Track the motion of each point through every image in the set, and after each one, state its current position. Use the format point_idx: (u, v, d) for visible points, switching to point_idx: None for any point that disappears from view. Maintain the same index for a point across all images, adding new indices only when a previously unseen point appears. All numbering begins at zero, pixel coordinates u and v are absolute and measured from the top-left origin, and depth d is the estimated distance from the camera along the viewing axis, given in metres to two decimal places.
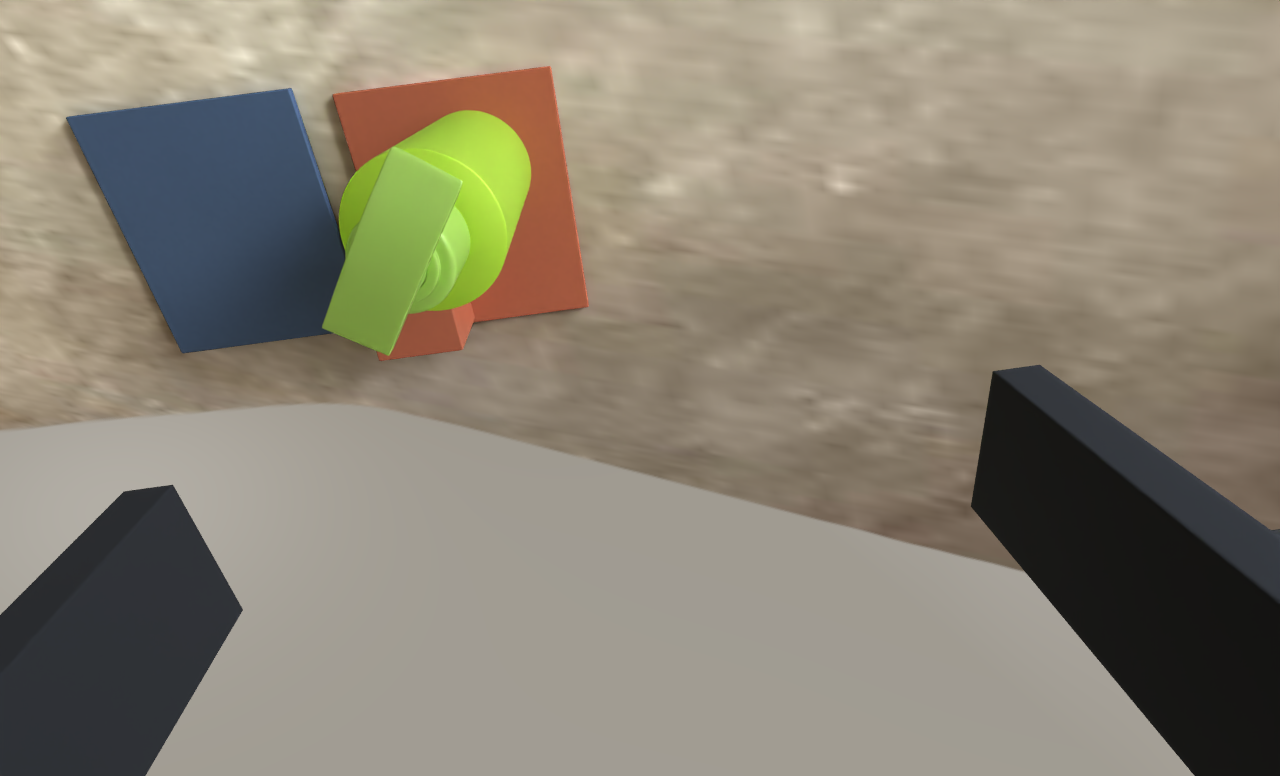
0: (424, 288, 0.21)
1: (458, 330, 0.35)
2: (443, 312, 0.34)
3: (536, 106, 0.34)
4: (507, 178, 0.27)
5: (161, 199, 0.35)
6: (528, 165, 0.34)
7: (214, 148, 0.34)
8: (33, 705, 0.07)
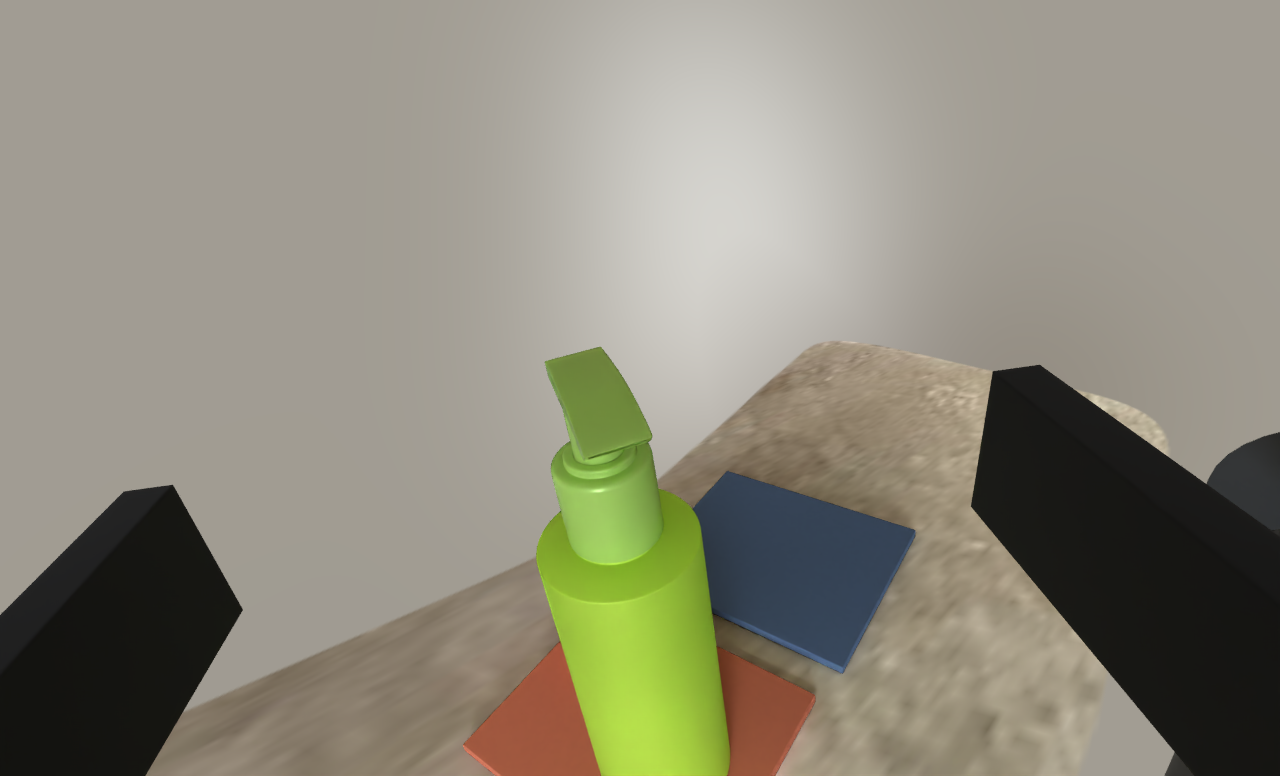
0: (569, 452, 0.21)
1: None
2: None
3: None
4: (605, 680, 0.23)
5: (827, 534, 0.40)
6: None
7: (836, 587, 0.36)
8: (33, 705, 0.07)
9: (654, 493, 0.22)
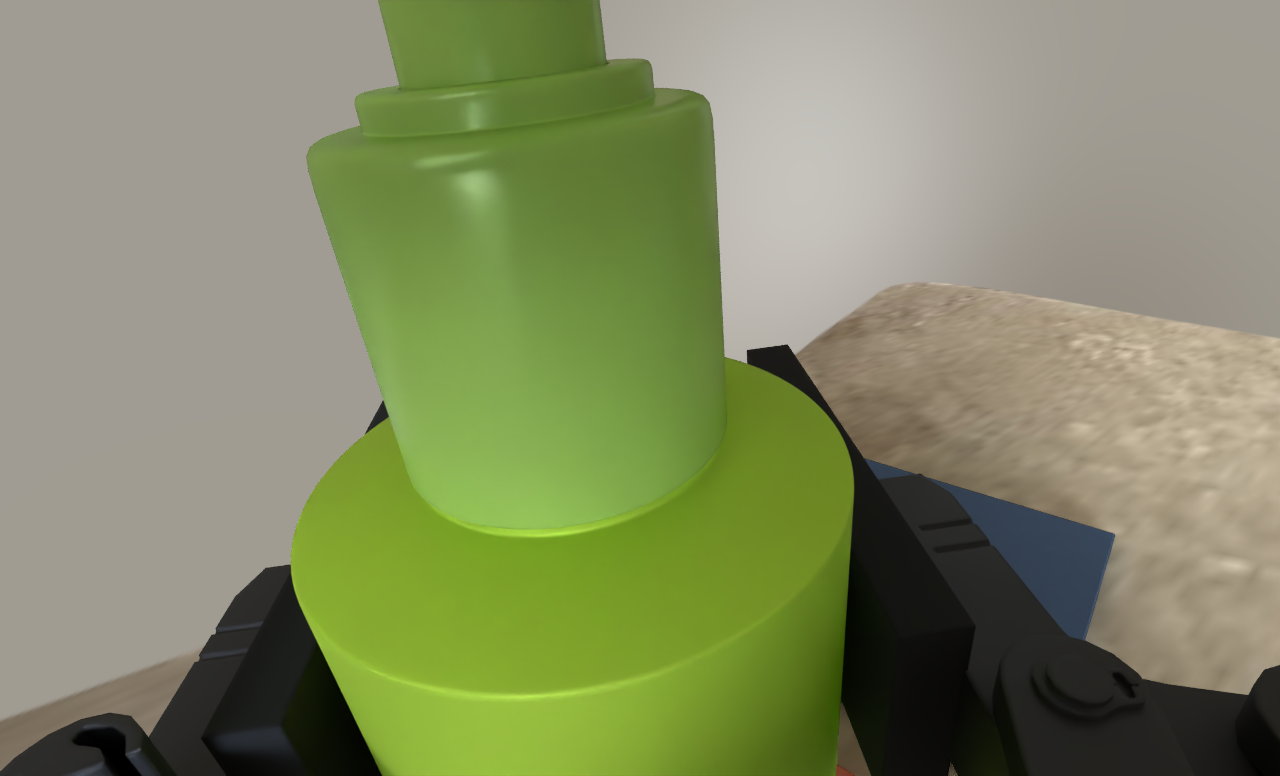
0: (389, 88, 0.06)
1: None
2: None
3: None
4: None
5: None
6: None
7: None
8: None
9: (711, 270, 0.06)
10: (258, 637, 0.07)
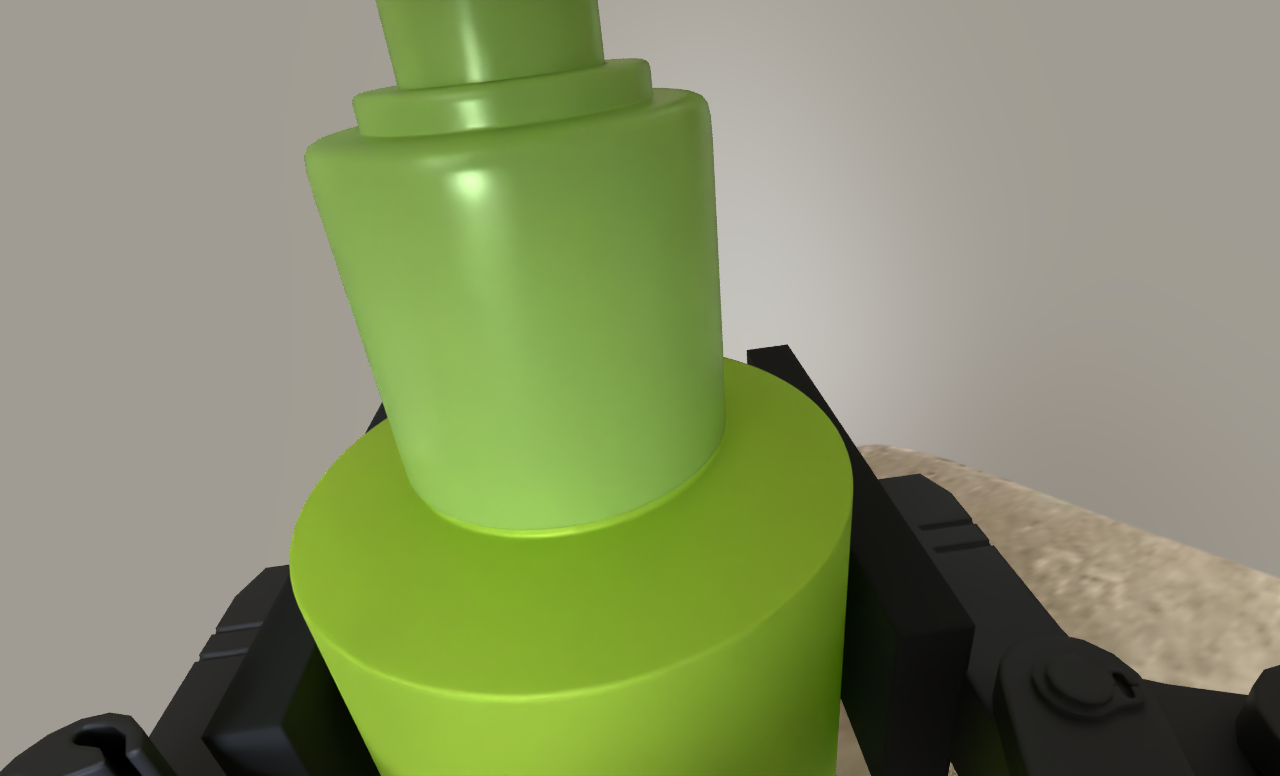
0: (387, 87, 0.06)
1: None
2: None
3: None
4: None
5: None
6: None
7: None
8: None
9: (710, 270, 0.06)
10: (259, 637, 0.07)
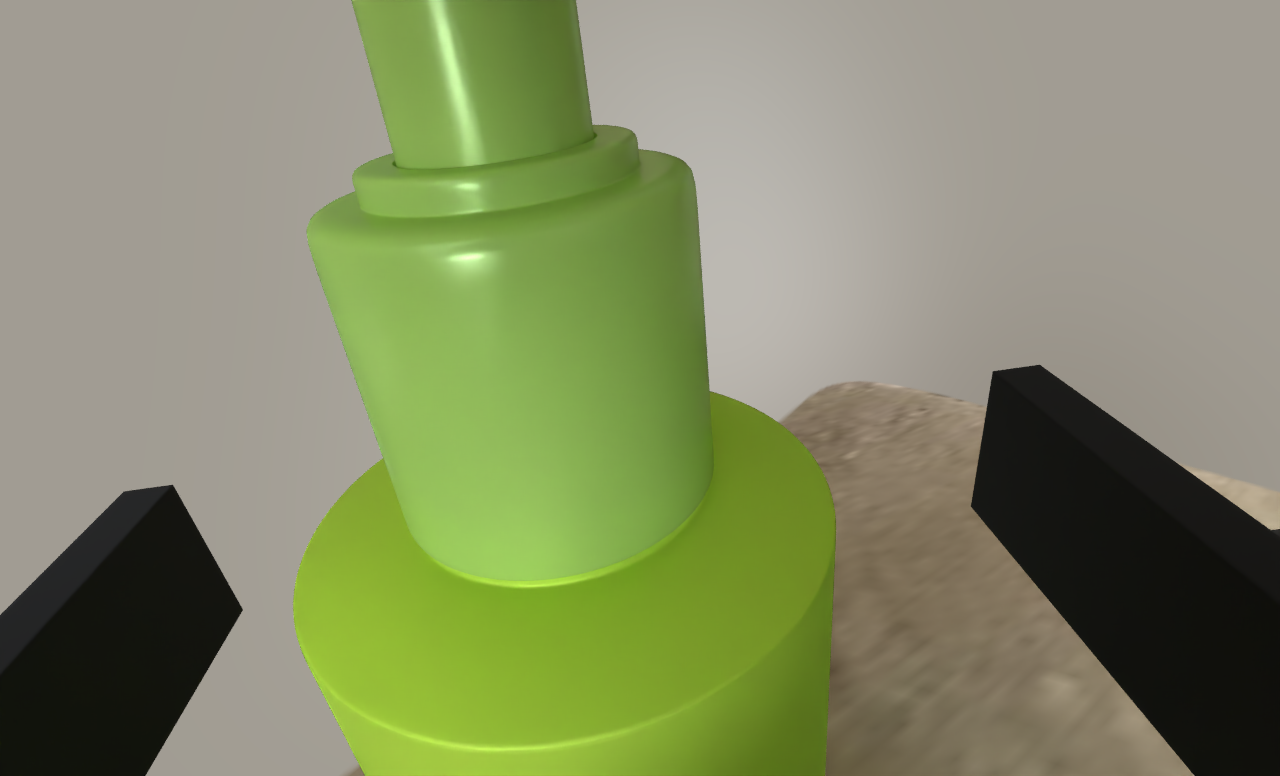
0: (385, 159, 0.06)
1: None
2: None
3: None
4: None
5: None
6: None
7: None
8: (33, 705, 0.07)
9: (695, 331, 0.06)
10: None
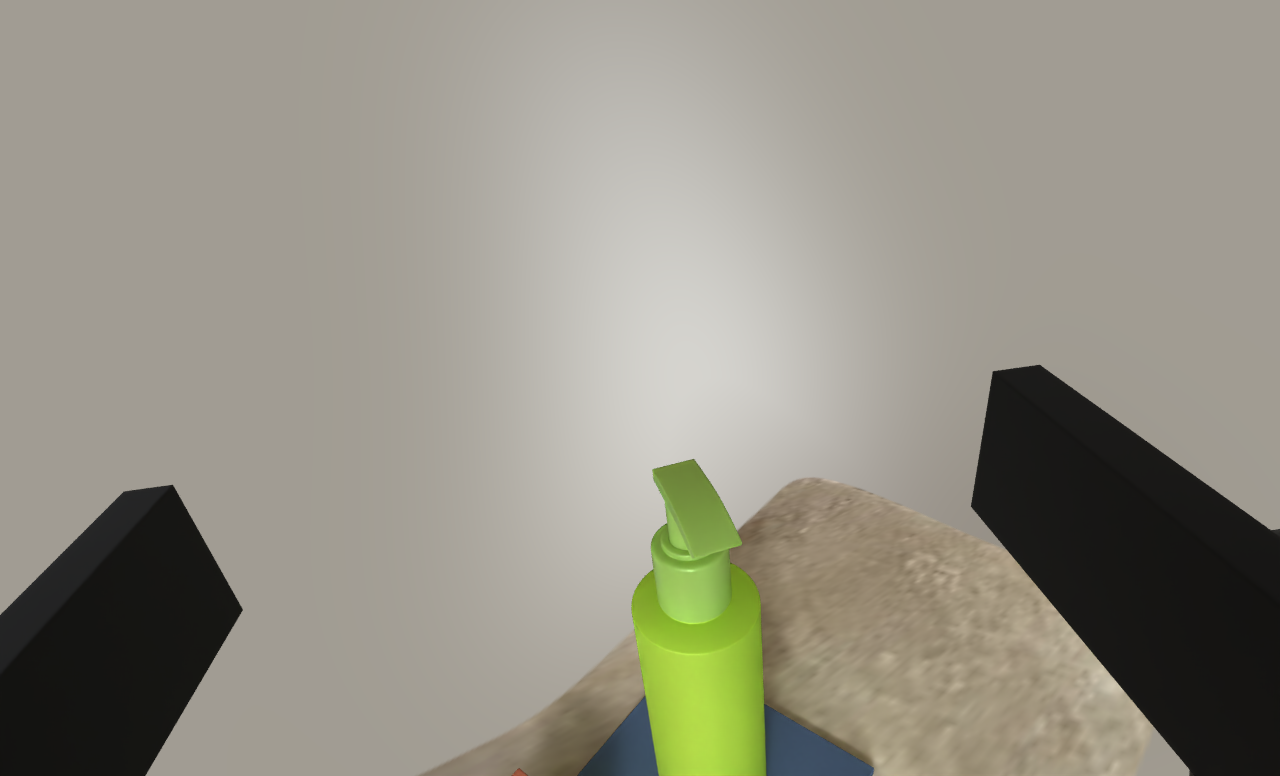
0: (665, 537, 0.28)
1: None
2: None
3: None
4: (681, 711, 0.30)
5: (776, 762, 0.36)
6: None
7: None
8: (33, 705, 0.07)
9: (728, 571, 0.28)
10: None
